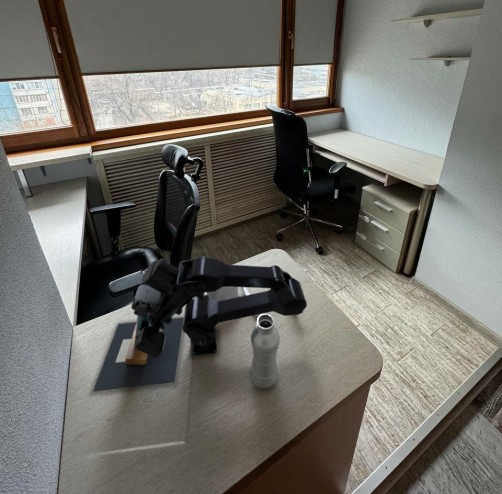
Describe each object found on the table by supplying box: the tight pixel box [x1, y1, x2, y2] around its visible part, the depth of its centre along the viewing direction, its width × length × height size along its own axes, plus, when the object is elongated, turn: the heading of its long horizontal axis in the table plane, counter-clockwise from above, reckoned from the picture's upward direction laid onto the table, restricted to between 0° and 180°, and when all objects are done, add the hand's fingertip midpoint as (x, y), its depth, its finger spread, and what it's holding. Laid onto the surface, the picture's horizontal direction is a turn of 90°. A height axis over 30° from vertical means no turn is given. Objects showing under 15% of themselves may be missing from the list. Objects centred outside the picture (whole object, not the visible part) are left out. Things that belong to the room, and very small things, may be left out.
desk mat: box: [92, 317, 184, 392], centre depth 72 cm, size 19×17×1 cm
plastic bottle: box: [250, 313, 281, 389], centre depth 63 cm, size 6×7×20 cm
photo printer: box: [206, 287, 239, 301], centre depth 84 cm, size 10×4×12 cm, turn 123°
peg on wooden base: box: [125, 313, 150, 367], centre depth 70 cm, size 5×10×14 cm, turn 6°
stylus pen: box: [242, 287, 260, 318], centre depth 87 cm, size 15×3×2 cm, turn 22°
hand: (138, 331), depth 70 cm, fingers closed on peg on wooden base, 3 cm apart
